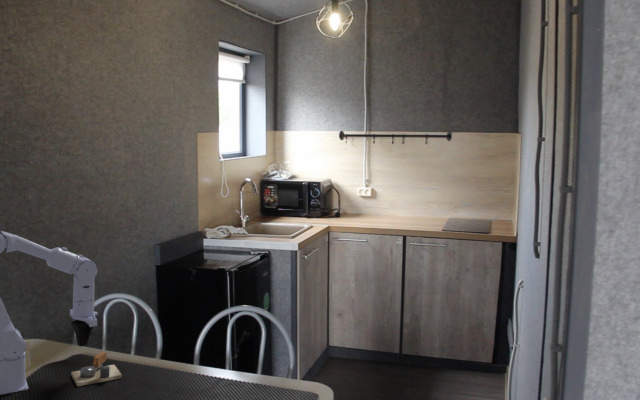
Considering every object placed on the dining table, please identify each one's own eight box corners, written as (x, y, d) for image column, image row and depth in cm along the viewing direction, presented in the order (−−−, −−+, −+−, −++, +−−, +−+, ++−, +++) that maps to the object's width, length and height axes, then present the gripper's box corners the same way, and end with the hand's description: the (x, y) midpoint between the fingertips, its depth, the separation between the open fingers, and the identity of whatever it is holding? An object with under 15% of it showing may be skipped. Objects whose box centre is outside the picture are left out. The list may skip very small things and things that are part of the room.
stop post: (101, 378, 152) (101, 369, 152) (99, 375, 154) (99, 367, 154) (110, 377, 153) (110, 368, 153) (108, 374, 155) (108, 365, 155)
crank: (90, 378, 152) (90, 366, 151) (77, 377, 152) (77, 365, 152) (110, 363, 163) (110, 352, 163) (97, 362, 163) (97, 351, 163)
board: (77, 386, 149) (77, 382, 149) (71, 375, 156) (71, 371, 156) (121, 378, 155) (121, 374, 155) (114, 367, 163) (114, 364, 163)
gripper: (108, 302, 154) (106, 348, 155) (86, 292, 164) (85, 336, 165) (83, 306, 149) (82, 354, 150) (63, 295, 159) (62, 340, 160)
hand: (82, 345), depth 157 cm, fingers closed
